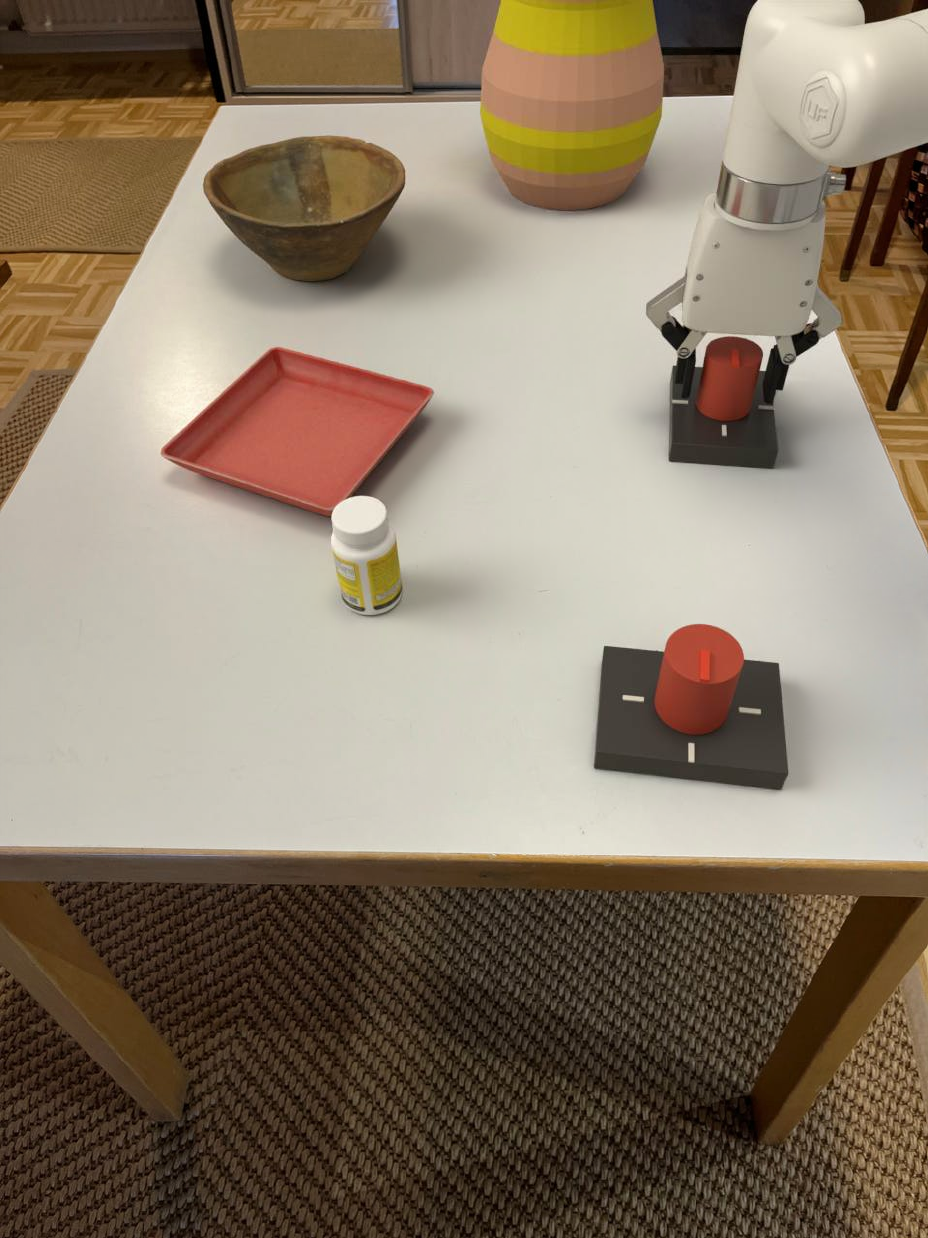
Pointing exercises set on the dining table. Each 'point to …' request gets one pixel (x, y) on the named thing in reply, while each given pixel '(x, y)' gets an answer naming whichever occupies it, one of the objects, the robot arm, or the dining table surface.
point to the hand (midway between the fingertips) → (726, 390)
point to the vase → (571, 98)
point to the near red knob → (698, 678)
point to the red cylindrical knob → (729, 378)
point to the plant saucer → (299, 429)
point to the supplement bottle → (366, 556)
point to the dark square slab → (721, 431)
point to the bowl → (306, 201)
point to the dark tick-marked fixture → (725, 755)
